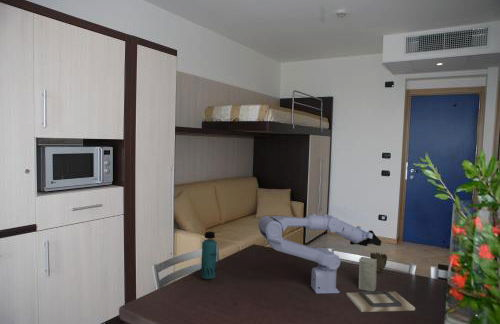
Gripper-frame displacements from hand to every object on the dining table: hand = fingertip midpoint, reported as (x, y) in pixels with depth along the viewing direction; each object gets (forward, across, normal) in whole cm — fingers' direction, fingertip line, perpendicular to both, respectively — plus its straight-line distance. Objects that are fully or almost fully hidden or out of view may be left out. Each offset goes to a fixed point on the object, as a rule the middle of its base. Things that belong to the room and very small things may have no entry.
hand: (373, 243), depth 140 cm
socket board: (+1, -8, +22) cm, 24 cm away
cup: (+19, +16, +6) cm, 25 cm away
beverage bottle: (-52, +32, +34) cm, 70 cm away
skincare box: (+3, +3, +18) cm, 18 cm away
